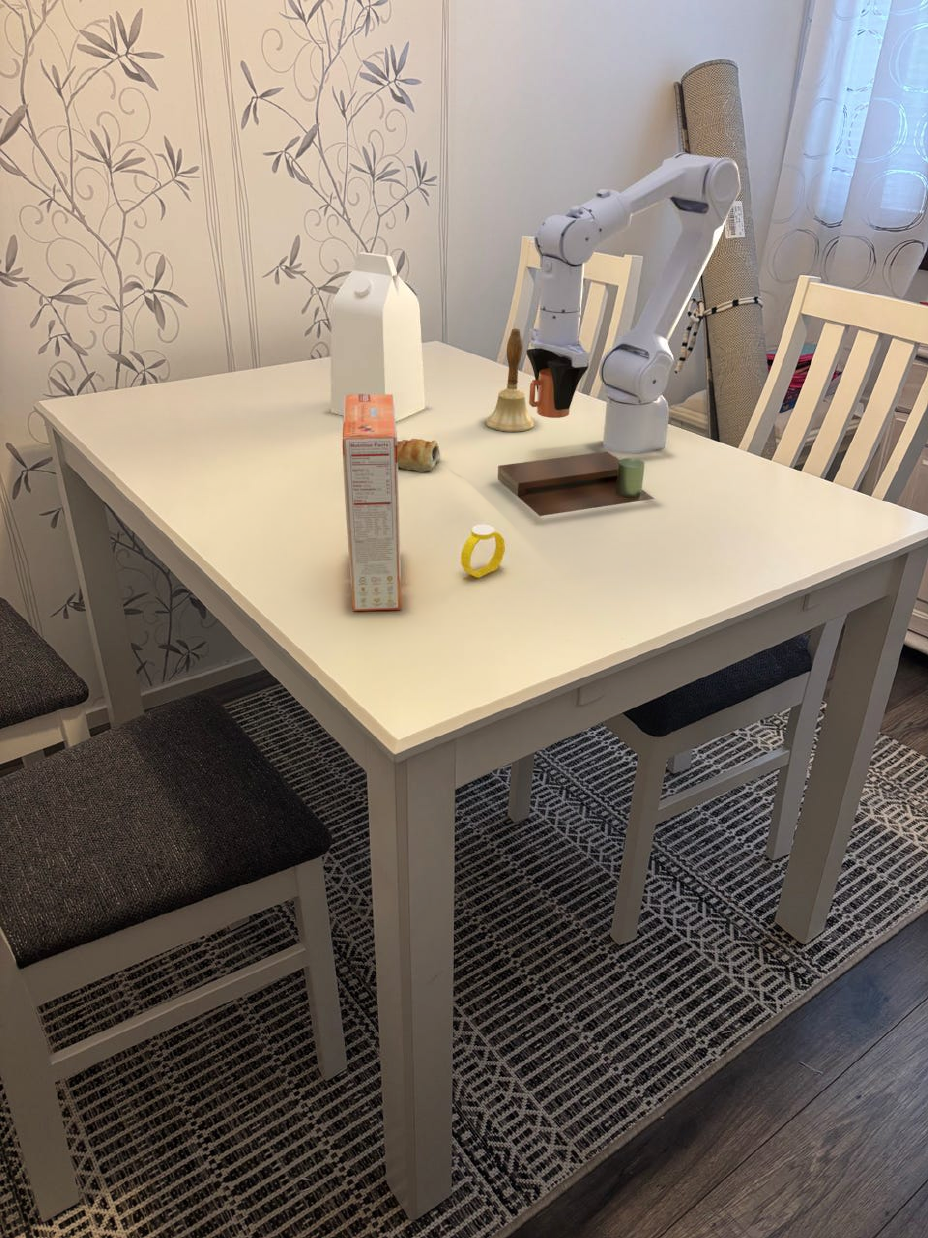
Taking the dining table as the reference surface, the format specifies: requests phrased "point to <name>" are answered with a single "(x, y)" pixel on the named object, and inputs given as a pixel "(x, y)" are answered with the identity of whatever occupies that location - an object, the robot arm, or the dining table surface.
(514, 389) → the hand bell
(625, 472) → the tin
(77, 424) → the dining table surface
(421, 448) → the pastry
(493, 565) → the watch
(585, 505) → the step shelf
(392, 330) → the milk
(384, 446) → the cracker box
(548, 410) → the jug
